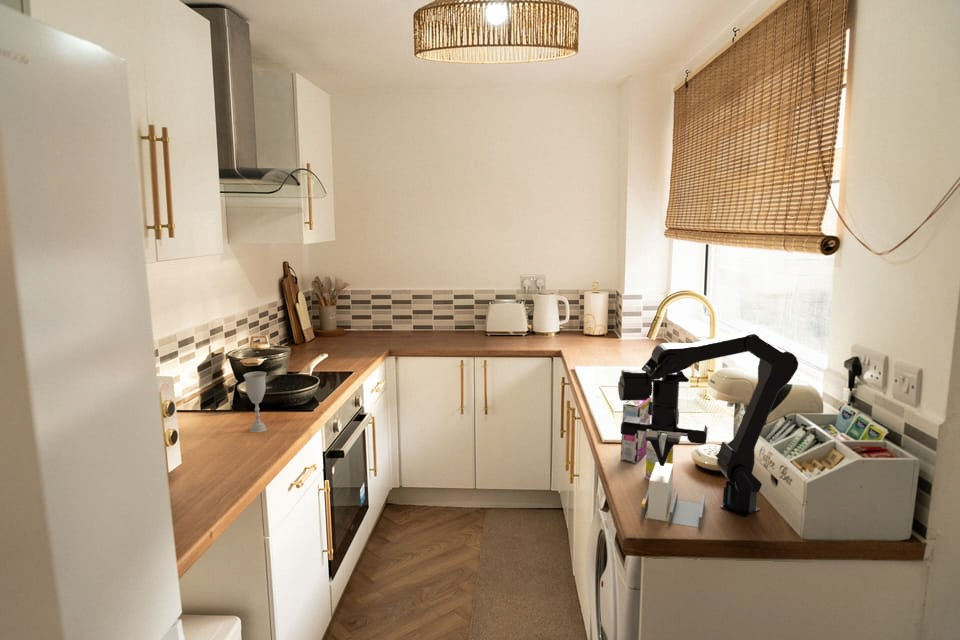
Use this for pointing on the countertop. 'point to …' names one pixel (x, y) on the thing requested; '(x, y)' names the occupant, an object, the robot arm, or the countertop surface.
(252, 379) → the chalice
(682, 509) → the slot rack
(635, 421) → the robot arm
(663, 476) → the white rectangular box
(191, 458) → the countertop surface
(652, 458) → the supplement bottle
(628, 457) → the candy bar box
